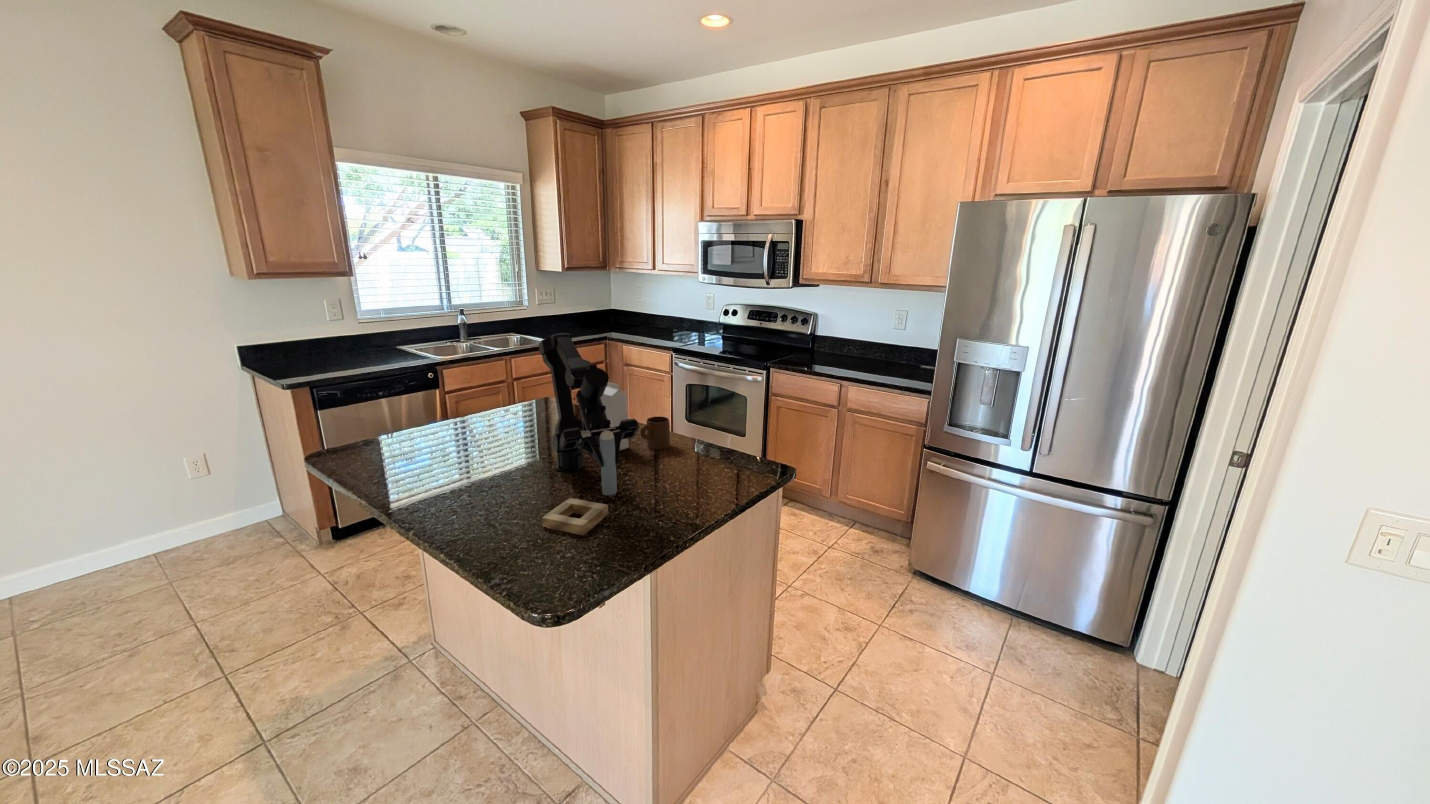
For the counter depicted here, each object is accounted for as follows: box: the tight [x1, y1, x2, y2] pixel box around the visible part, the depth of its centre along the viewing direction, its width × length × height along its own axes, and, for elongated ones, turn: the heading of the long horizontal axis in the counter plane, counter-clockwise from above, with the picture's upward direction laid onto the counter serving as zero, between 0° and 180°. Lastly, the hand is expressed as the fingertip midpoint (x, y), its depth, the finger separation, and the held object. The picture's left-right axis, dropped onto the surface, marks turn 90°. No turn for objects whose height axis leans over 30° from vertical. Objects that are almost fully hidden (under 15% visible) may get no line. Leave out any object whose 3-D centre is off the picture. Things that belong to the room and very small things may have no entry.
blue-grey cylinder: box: [599, 430, 618, 496], centre depth 127 cm, size 4×4×16 cm
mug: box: [639, 416, 671, 451], centre depth 174 cm, size 12×8×9 cm, turn 145°
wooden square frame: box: [541, 497, 609, 536], centre depth 127 cm, size 11×11×2 cm
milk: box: [600, 381, 630, 451], centre depth 172 cm, size 6×6×22 cm
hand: (610, 464), depth 126 cm, fingers closed on blue-grey cylinder, 3 cm apart
